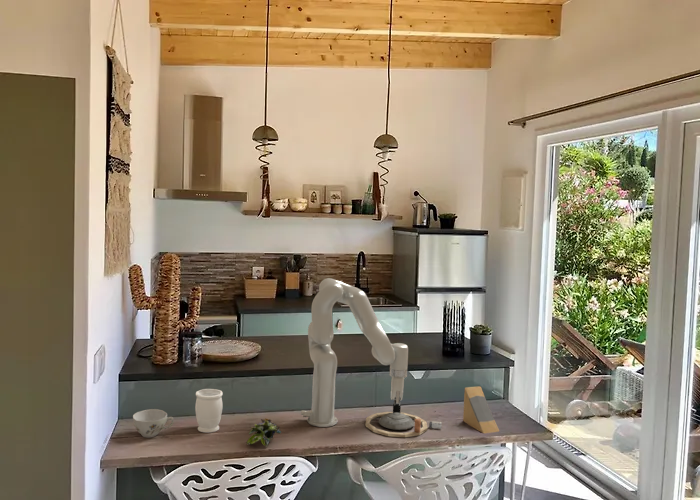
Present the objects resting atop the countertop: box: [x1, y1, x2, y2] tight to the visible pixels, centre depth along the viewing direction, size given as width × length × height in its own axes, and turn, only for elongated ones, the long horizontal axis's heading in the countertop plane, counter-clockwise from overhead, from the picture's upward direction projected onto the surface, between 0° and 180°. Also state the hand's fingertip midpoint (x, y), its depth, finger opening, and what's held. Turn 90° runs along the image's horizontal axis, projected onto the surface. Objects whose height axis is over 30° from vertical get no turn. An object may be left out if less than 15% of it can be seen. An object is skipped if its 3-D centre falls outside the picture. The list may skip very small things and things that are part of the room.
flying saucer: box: [378, 412, 415, 431], centre depth 253 cm, size 15×15×6 cm
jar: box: [194, 388, 223, 434], centre depth 240 cm, size 11×10×15 cm
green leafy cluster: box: [246, 418, 282, 449], centre depth 228 cm, size 11×11×12 cm
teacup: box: [132, 408, 174, 438], centre depth 233 cm, size 15×12×8 cm
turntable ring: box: [365, 411, 428, 438], centre depth 253 cm, size 26×26×6 cm
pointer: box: [428, 420, 443, 430], centre depth 252 cm, size 5×2×2 cm, turn 86°
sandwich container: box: [462, 385, 500, 434], centre depth 256 cm, size 9×15×15 cm, turn 24°
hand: (396, 413), depth 261 cm, fingers closed
